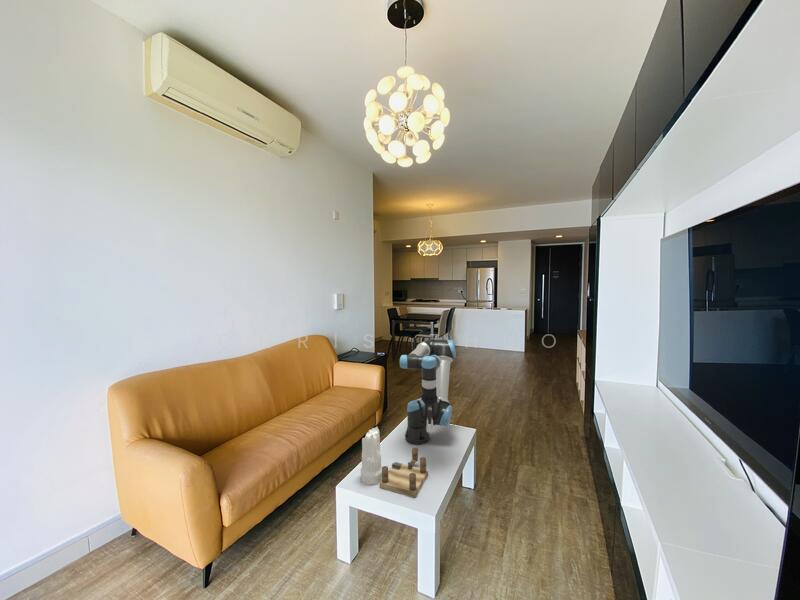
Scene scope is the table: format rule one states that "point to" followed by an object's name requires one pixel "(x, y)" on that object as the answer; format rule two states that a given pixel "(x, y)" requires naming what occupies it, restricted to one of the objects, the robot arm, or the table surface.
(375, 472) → the white tall rough piece
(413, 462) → the hinged leg
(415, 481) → the stool seat
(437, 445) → the table surface
